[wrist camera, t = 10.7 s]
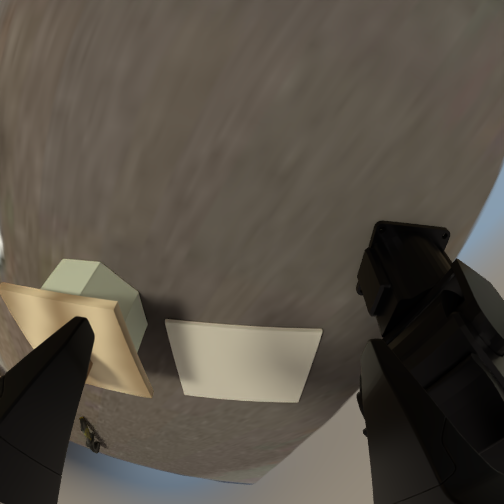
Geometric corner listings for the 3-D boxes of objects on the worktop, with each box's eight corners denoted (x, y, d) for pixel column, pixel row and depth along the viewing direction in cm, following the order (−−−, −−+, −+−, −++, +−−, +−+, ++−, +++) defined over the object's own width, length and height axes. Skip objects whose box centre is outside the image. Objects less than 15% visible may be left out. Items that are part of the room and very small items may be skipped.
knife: (81, 403, 48) (74, 422, 44) (88, 406, 48) (80, 425, 44) (95, 442, 59) (91, 457, 55) (101, 444, 59) (96, 459, 55)
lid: (117, 301, 18) (90, 359, 14) (153, 391, 25) (142, 435, 21) (2, 282, 18) (-28, 322, 14) (53, 367, 25) (37, 402, 21)
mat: (321, 328, 26) (322, 332, 26) (298, 399, 34) (298, 402, 34) (165, 318, 26) (164, 322, 26) (185, 392, 34) (184, 394, 34)
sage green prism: (131, 264, 23) (107, 308, 19) (153, 343, 28) (140, 384, 24) (40, 256, 23) (12, 291, 19) (73, 328, 29) (56, 363, 25)
